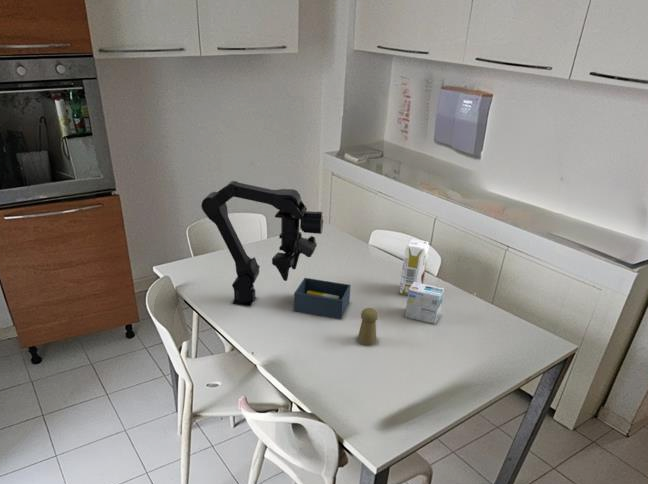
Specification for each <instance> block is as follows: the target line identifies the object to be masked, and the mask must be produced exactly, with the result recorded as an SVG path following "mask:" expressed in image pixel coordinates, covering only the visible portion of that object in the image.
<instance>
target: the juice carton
mask: <svg viewBox="0 0 648 484" xmlns="http://www.w3.org/2000/svg"><path fill="white" fill-rule="evenodd" d="M429 249H430V248H429V241H426V240H423V239H422V240H421V239H414V238H411V239H410V240H409V243H407V245H406V247H405V250H404V255H403V260H402V261H403V262H402V269H401V274H400V276H401V277H400V282H399V291H400V294H401V295H406V296H408V291H409V288H410V287H411V285H412V284H413V283H414V282H417V283H421V284H424V280H425V274H426V268H427V263H428V258H429V257H428V256H429V252H430V251H429Z"/></svg>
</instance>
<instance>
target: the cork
mask: <svg viewBox="0 0 648 484" xmlns="http://www.w3.org/2000/svg"><path fill="white" fill-rule="evenodd" d="M360 318H361V323H360V327H359V331H358V336H357V343H358V344H360V345H361V346H364V347H371V346H372V347H373V346H374V345H376V344H377V324H376V323H377V321H378V318H379V312H378V311H377V310H376V309H374V308H372V307H366V308H363V310H362V311H361V313H360Z"/></svg>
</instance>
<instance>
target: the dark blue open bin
mask: <svg viewBox="0 0 648 484" xmlns="http://www.w3.org/2000/svg"><path fill="white" fill-rule="evenodd" d="M351 286H352V285H351V284H348V283H346V284H345V283H341V282H334V281H330V280H329V281H328V280H323V279H315V278H310V277H304V278H303V279H302V281H301V282H300V284H299V285H298V287H297V288H296V290H295V291H294V293H293V312H296V313H301V314H308V315H313V316H317V317H319V316H320V317H325V318H331V319H335V320H342V319H343V317H344V314H345V313H346V311H347V309H348V307H349V304H350V298H351ZM307 291H315V292H320V293H326V294H331V295H337V296H341V300H338V299H332V298H326V297H320V296H314V295H308V294H306V293H307Z"/></svg>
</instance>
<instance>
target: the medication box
mask: <svg viewBox="0 0 648 484" xmlns="http://www.w3.org/2000/svg"><path fill="white" fill-rule="evenodd" d="M306 294H308V295H314V296H320V297H326V298H332V299H338V300H341V296H337V295H331V294H326V293H320V292H315V291H307V293H306Z"/></svg>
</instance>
